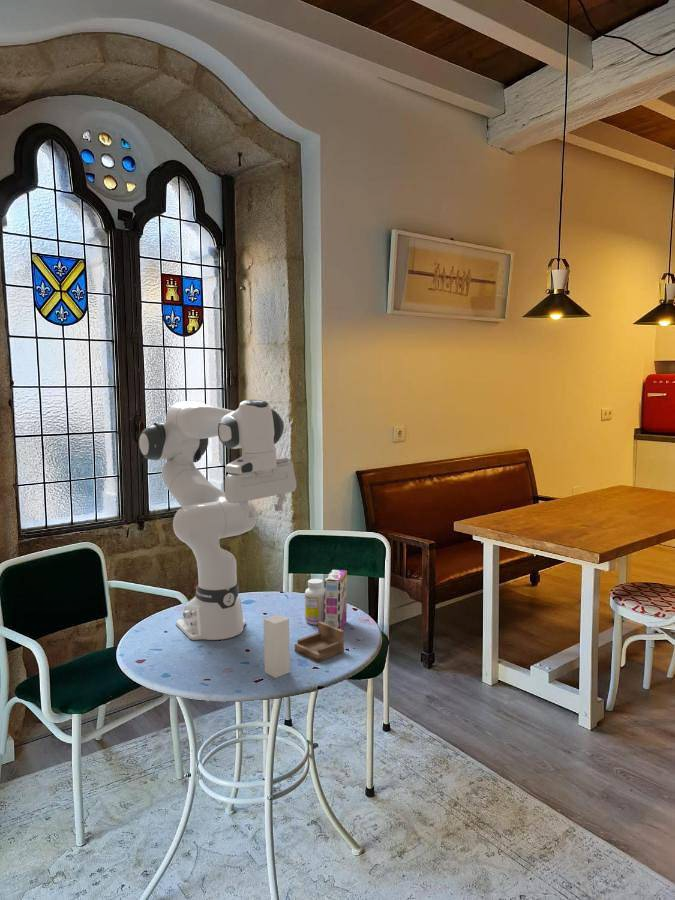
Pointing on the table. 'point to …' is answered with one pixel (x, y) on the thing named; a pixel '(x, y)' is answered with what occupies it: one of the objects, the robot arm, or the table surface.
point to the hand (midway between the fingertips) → (263, 514)
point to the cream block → (276, 645)
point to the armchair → (322, 643)
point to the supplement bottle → (314, 602)
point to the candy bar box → (335, 598)
